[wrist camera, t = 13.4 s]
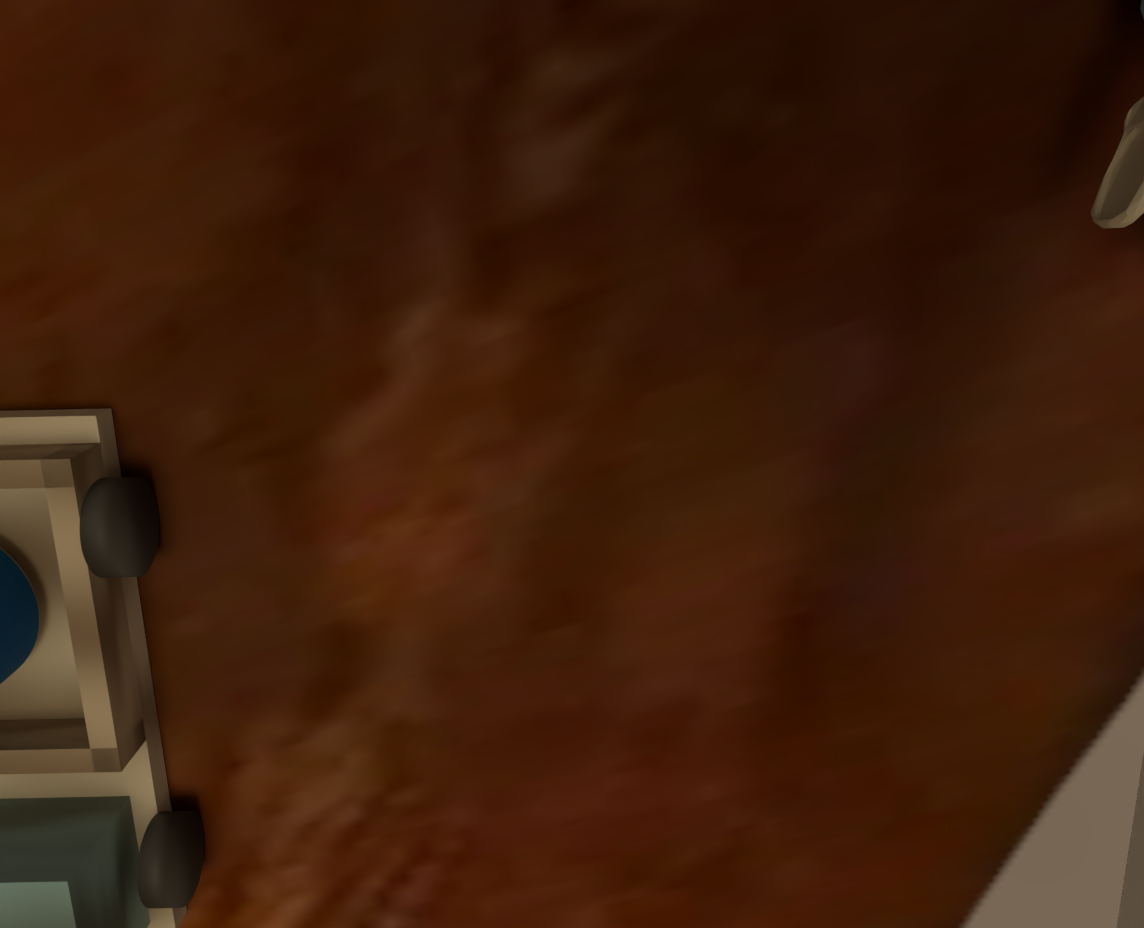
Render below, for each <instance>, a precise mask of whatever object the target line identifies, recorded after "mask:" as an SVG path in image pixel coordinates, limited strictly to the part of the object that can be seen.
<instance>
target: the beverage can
mask: <svg viewBox="0 0 1144 928" xmlns="http://www.w3.org/2000/svg"><path fill="white" fill-rule="evenodd" d="M39 618H40V616H39V607H38V603H37V599H36V595H35V593H34V590H33V588H32V585H31V583H30V582H29V580H28V578H27V576H26V574H25V573H24V572H23V570H22V569H21V568H20V566H19V565H18V564H17V563H16V562H15V561H14V559H13V558H12V557H11V556H10V555H8V554H7V553H6V552H5V551H4V550H3V549H2V548H0V684H1V683H2V682H4V681H5V680H6V679H7V678H8V677H9V676H11V675H12V674H13V673H14V672H15V671H16V670H17V669H18V668H19V667H20V666H21V665H22V664H23V663H24V662H25V661H26V659H27V658H28V657H29V655H30V653H31V651H32V650H33V648H34V645H35V643H36V640H37V637H38V631H39Z"/></svg>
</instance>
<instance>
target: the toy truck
mask: <svg viewBox="0 0 1144 928" xmlns="http://www.w3.org/2000/svg"><path fill="white" fill-rule="evenodd" d="M158 540H159V512H158V506H157V502H156V498H155V495H154V493H153V490H152V488H151V486H150V485H149V484H148V482H147V481H146V480H144V479H143V478H140V477H121V470H120V463H119V457H118V450H117V443H116V437H115V430H114V424H113V417H112V410H111V409H64V410H16V411H0V548H2V549H3V550H4V551H5V552H6V553H7V554H8V555H10V556H11V557H12V558H13V559H14V561H15V562H16V563H17V564H18V565H19V566H20V568H21V569H22V570H23V572H24V573H25V574H26V576H27V578H28V580H29V582H30V583H31V585H32V588H33V590H34V593H35V595H36V599H37V603H38V607H39V616H40V618H39V631H38V637H37V640H36V643H35V645H34V648H33V650H32V651H31V653H30V655H29V657H28V658H27V659H26V661H25V662H24V663H23V664H22V665H21V666H20V667H19V668H18V669H17V670H16V671H15V672H14V673H13V674H12V675H11V676H9V677H8V678H7V679H6V680H5V681H4V682H2V683H1V684H0V928H178V927H179V925H180V923H181V921H182V919H183V918H184V916H185V914H186V912H187V909H186V905H187V904H188V903H189V902H190V900H191V899H192V897H193V895H194V893H195V891H196V888H197V885H198V882H199V879H200V875H201V871H202V865H203V858H204V830H203V825H202V821H201V818H200V816H199V815H198V813H197V812H195V811H172V809H171V802H170V796H169V789H168V782H167V776H166V769H165V762H164V756H163V749H162V743H161V736H160V729H159V723H158V716H157V709H156V703H155V696H154V689H153V683H152V676H151V669H150V663H149V656H148V649H147V643H146V636H145V630H144V623H143V616H142V610H141V603H140V596H139V590H138V583H137V577H140V576H142V575H143V574H145V573H146V572H147V571H148V569H149V568H150V566H151V564H152V562H153V560H154V558H155V554H156V551H157V546H158Z"/></svg>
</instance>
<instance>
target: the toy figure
mask: <svg viewBox="0 0 1144 928" xmlns="http://www.w3.org/2000/svg"><path fill="white" fill-rule="evenodd" d="M1140 10H1141V13H1142V16H1143V19H1144V0H1142V1H1141V8H1140ZM1143 213H1144V97H1142V98H1141V99H1140V100H1139V101H1138V102H1136V103H1135V104H1134V105H1133V106H1132V108H1131V109H1130V111H1129V112H1128V114H1127V116H1126V119H1125V121H1124V135H1123V137H1122V139H1121V142H1120V144H1119V146H1118V149H1117V151H1116V153H1115V156H1114V158H1113V160H1112V162H1111V164H1110V166H1109V168H1108V170H1107V172H1106V174H1105V176H1104V178H1103V181H1102V183H1101V185H1100V188H1099V191H1098V193H1097V196H1096V199H1095V202H1094V205H1093V208H1092V211H1091V216H1092V219H1093V222H1095V223H1096V224H1098V225H1099V226H1101V227H1102V228H1122V227H1126V226H1127V225H1129V224H1131V223H1133V222H1134V221H1135V220H1136V219H1138V218H1139V217H1140V216H1141V215H1142V214H1143Z"/></svg>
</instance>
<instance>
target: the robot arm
mask: <svg viewBox="0 0 1144 928" xmlns="http://www.w3.org/2000/svg"><path fill="white" fill-rule="evenodd" d="M1117 928H1144V755H1143V761H1142V768H1141V774H1140V780H1139V787H1138V793H1137V800H1136V806H1135V813H1134V820H1133V826H1132V832H1131V839H1130V845H1129V852H1128V858H1127V864H1126V871H1125V877H1124V884H1123V890H1122V896H1121V904H1120V909H1119V916H1118V922H1117Z"/></svg>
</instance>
